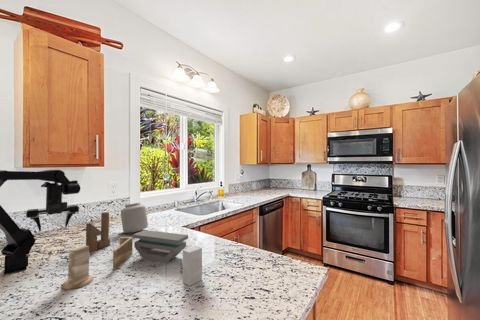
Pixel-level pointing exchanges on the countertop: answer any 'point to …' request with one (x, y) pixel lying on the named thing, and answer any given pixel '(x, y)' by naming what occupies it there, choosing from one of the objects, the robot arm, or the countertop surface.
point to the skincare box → (192, 265)
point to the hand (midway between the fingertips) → (53, 229)
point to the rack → (122, 252)
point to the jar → (134, 218)
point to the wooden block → (94, 232)
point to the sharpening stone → (159, 245)
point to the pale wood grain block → (78, 264)
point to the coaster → (81, 284)
